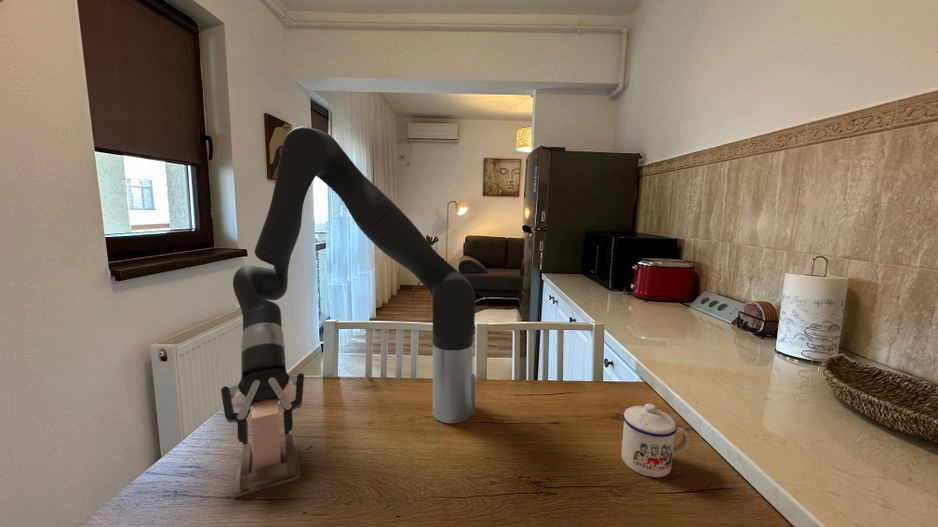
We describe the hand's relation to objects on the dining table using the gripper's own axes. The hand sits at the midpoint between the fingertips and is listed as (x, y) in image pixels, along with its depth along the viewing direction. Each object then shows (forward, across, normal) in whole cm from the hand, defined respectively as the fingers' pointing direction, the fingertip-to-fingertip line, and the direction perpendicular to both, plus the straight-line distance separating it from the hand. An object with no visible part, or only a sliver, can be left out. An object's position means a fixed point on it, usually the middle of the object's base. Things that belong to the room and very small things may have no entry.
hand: (266, 438), depth 64 cm
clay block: (+3, 0, +6) cm, 6 cm away
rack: (+4, 0, +6) cm, 8 cm away
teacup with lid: (+26, +65, -15) cm, 72 cm away
